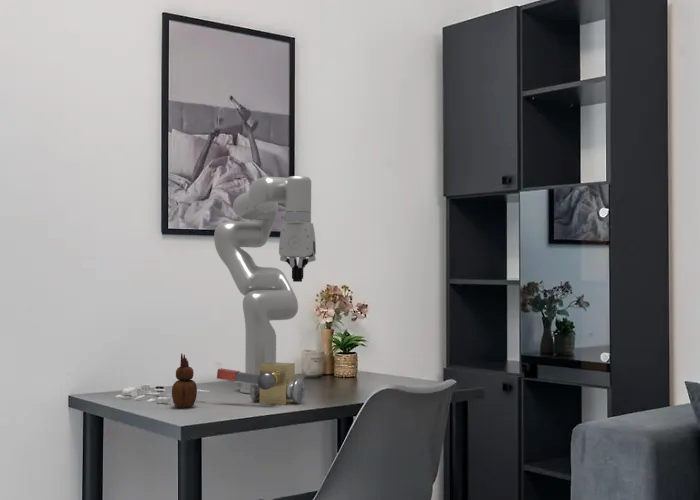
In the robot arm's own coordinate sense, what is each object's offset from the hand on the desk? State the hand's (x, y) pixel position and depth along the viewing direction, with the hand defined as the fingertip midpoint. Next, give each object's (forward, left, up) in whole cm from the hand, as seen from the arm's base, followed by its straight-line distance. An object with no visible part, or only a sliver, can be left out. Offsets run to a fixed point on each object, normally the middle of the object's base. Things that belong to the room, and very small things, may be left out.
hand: (297, 281), depth 260 cm
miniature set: (-39, -11, -35) cm, 54 cm away
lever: (-2, -13, -28) cm, 31 cm away
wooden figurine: (-25, -22, -35) cm, 48 cm away
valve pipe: (-4, -6, -35) cm, 35 cm away
